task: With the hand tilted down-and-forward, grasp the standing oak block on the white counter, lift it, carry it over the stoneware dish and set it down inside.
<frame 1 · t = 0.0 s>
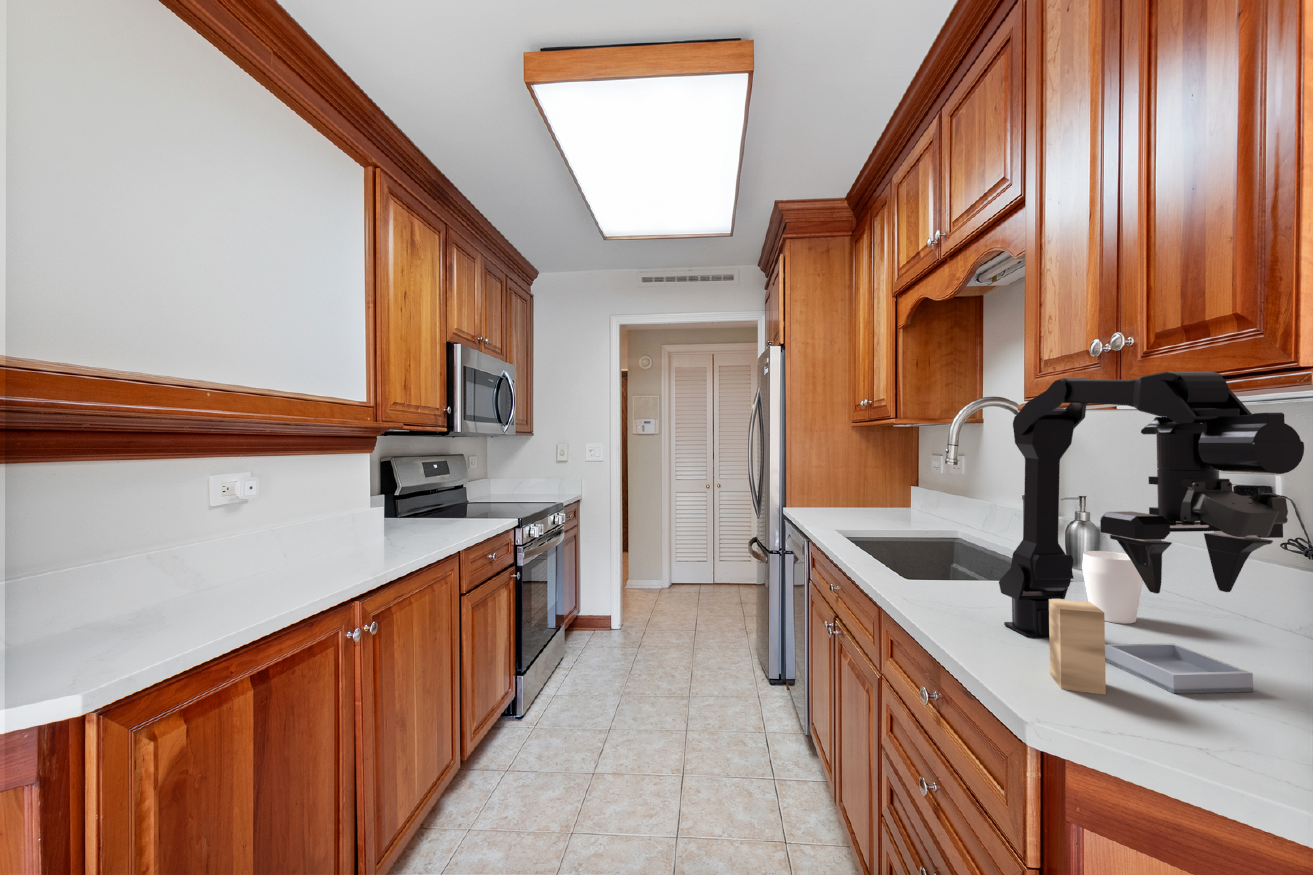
hand: (1189, 592, 70), 15 cm above the worktop, tool pointing down, fingers open, 9 cm apart
dish: (1173, 675, 79), on the worktop
oak block: (1076, 684, 77), on the worktop
cup: (1112, 619, 105), on the worktop
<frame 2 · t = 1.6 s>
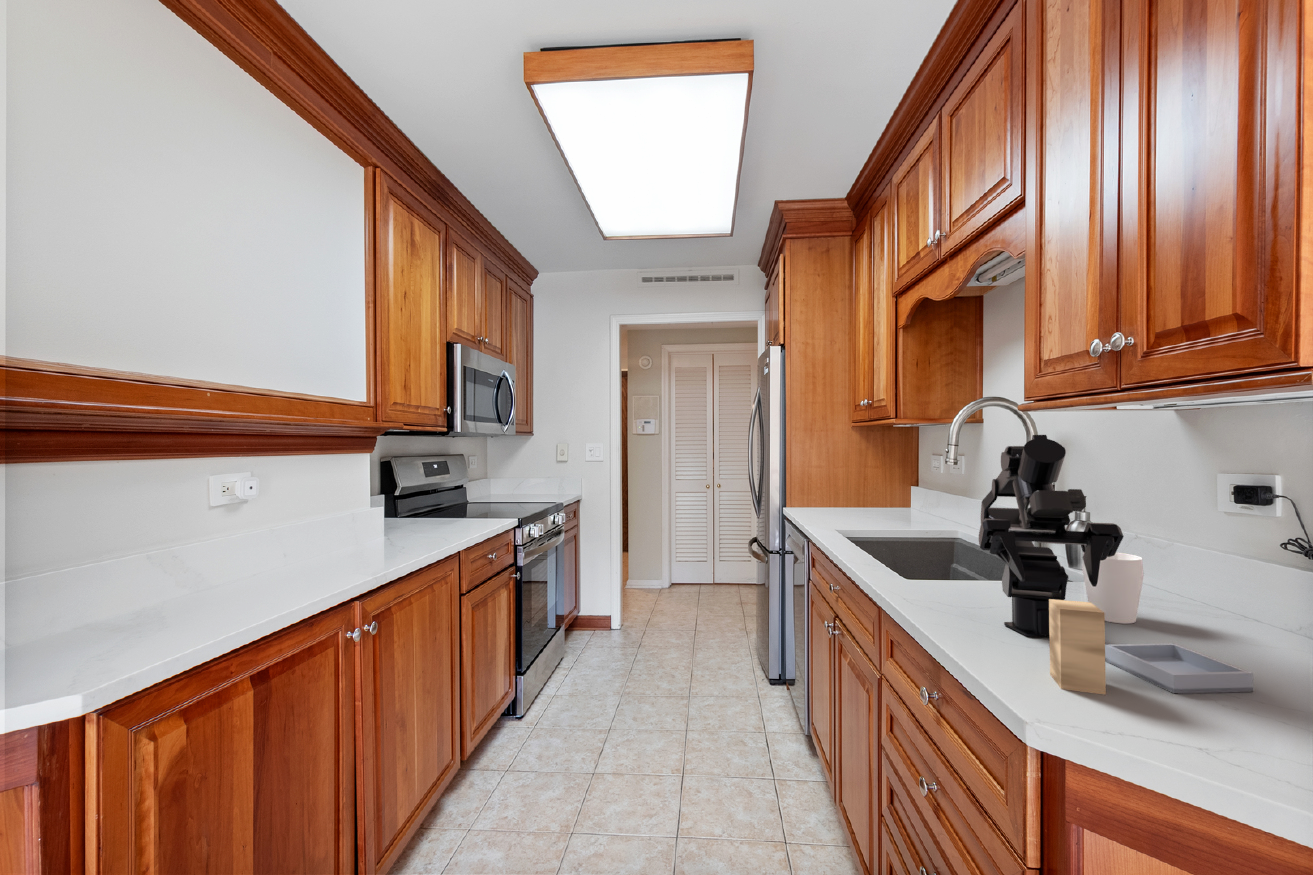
hand: (1058, 582, 84), 12 cm above the worktop, tool tilted 45°, fingers open, 9 cm apart
nothing on the worktop moved.
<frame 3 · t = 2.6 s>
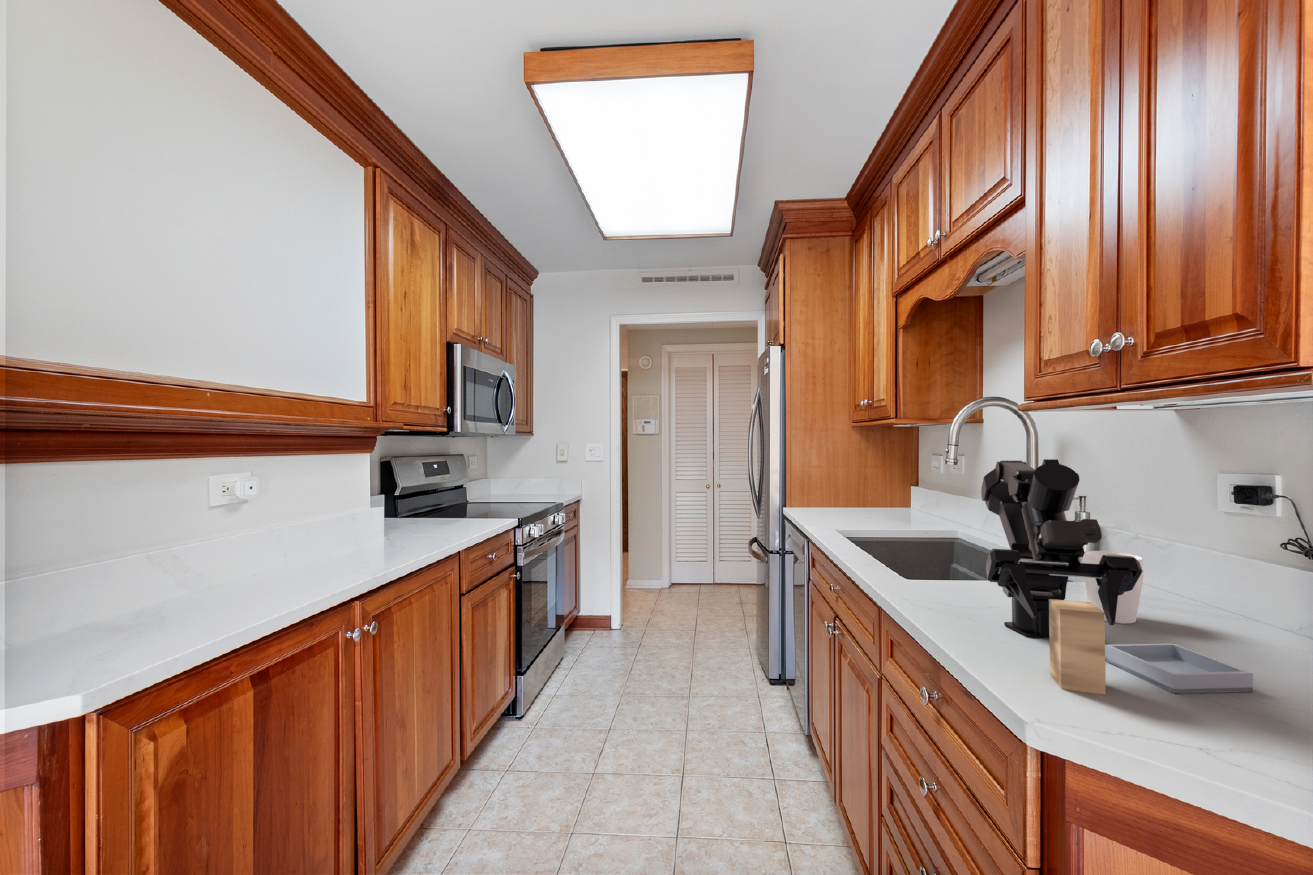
hand: (1072, 620, 78), 8 cm above the worktop, tool tilted 45°, fingers open, 9 cm apart
nothing on the worktop moved.
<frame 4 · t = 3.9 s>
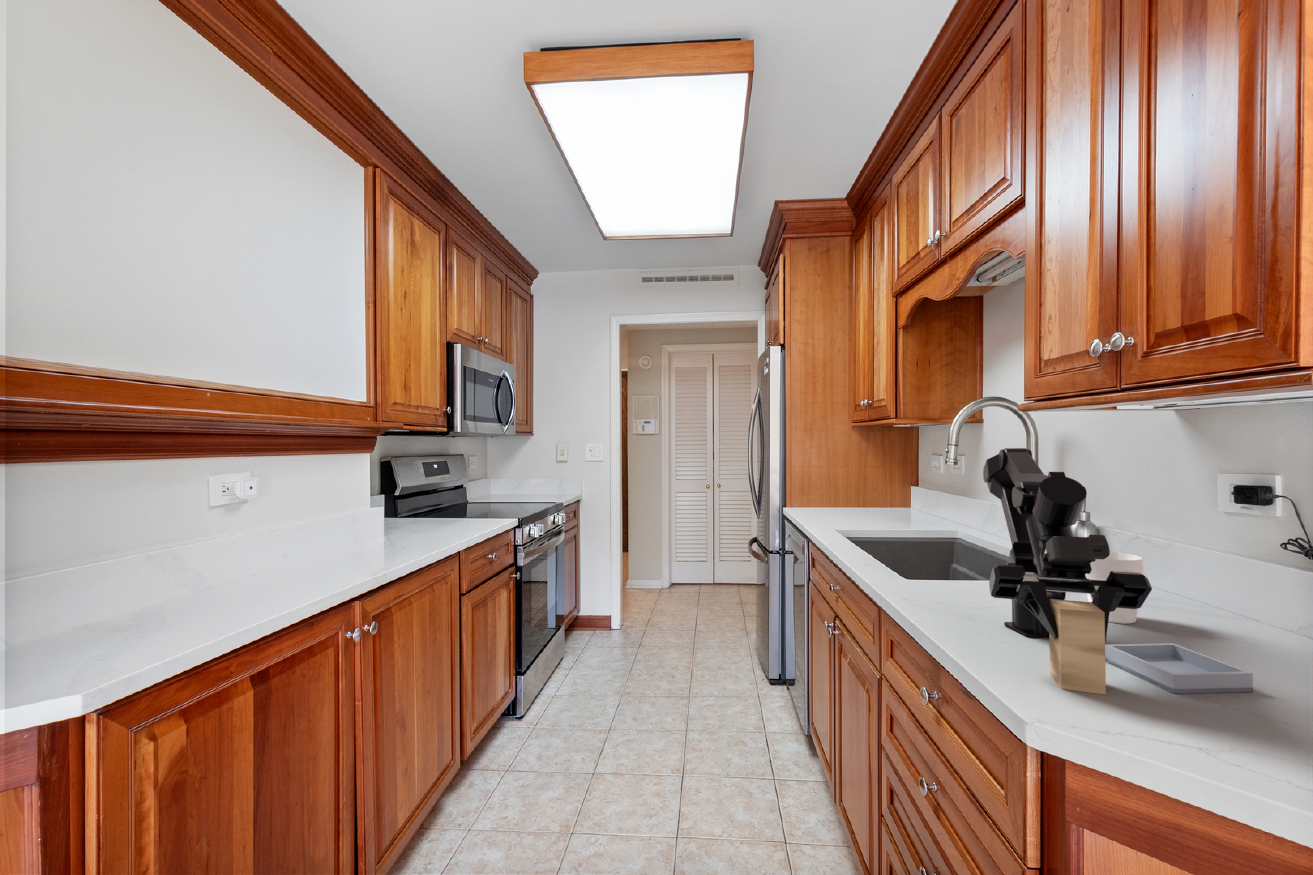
hand: (1079, 639, 76), 7 cm above the worktop, tool tilted 45°, fingers closed on oak block, 5 cm apart
oak block: (1076, 683, 77), on the worktop, touching gripper
everything else where it was.
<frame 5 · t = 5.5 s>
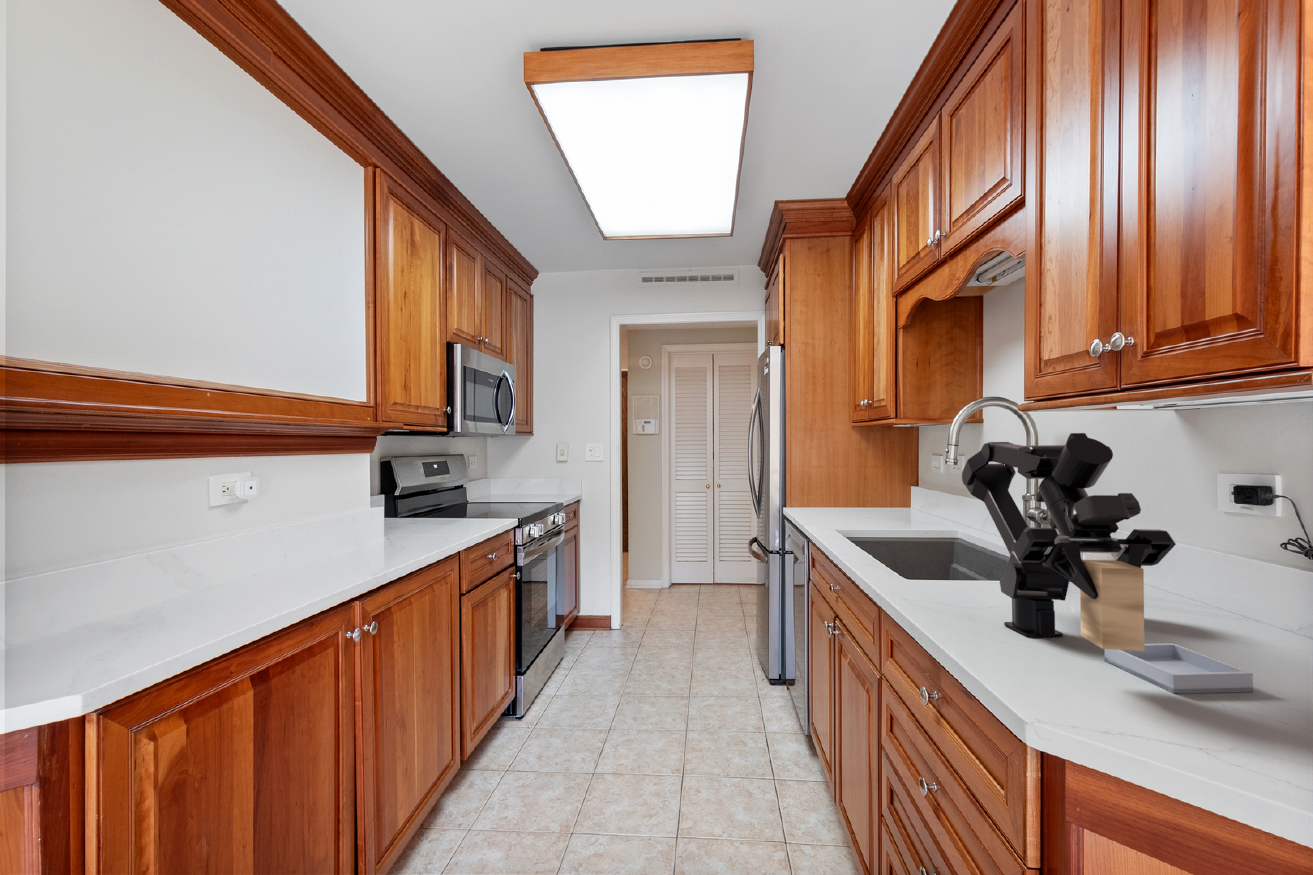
hand: (1117, 598, 75), 12 cm above the worktop, tool tilted 45°, fingers closed on oak block, 5 cm apart
oak block: (1111, 642, 76), point 6 cm above the worktop, touching gripper
everything else where it was.
when the fingers open (9 cm above the worktop, at t = 7.3 s): oak block drops 2 cm, resting on dish.
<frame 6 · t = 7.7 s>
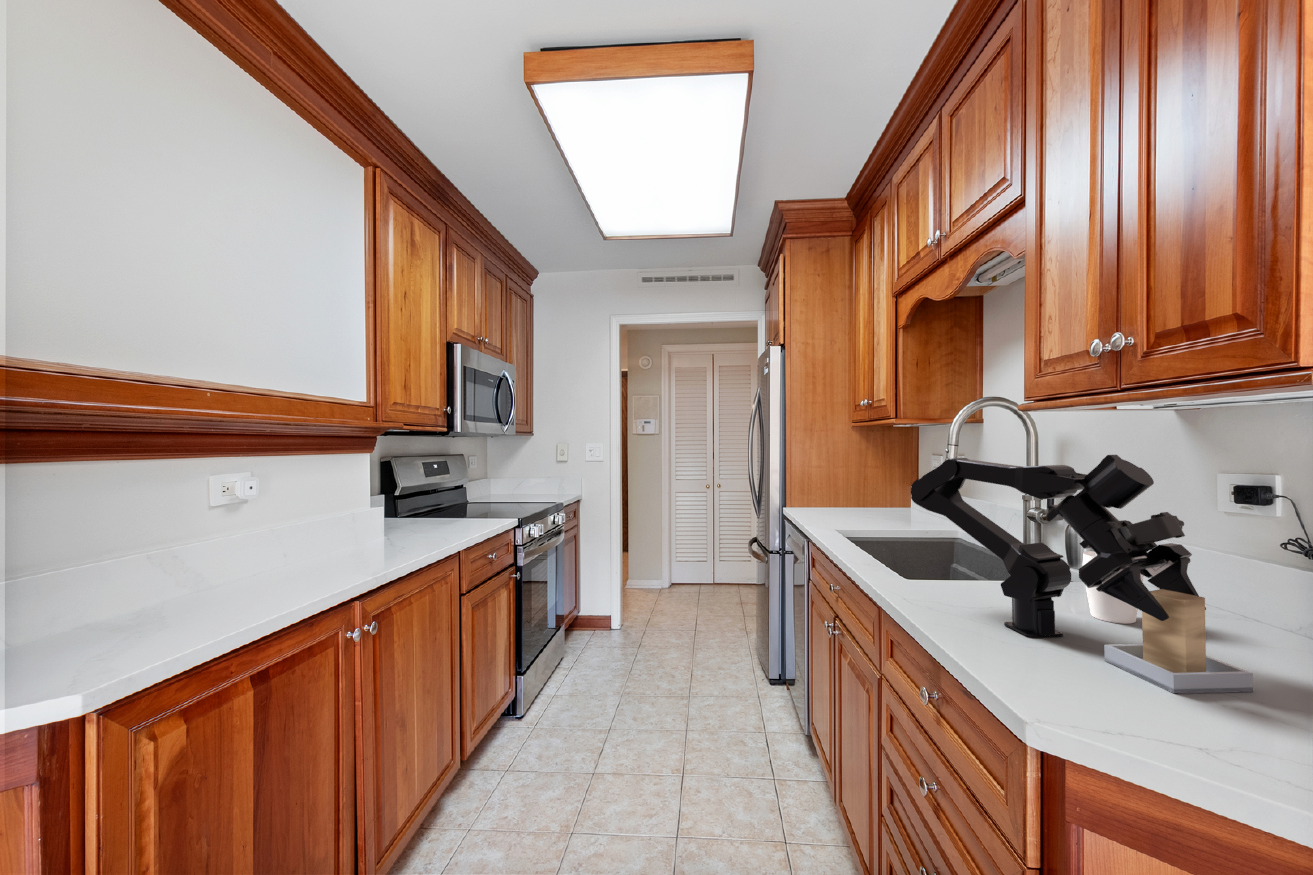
hand: (1184, 615, 78), 9 cm above the worktop, tool tilted 45°, fingers open, 9 cm apart
oak block: (1174, 671, 79), point 1 cm above the worktop, touching dish
everything else where it was.
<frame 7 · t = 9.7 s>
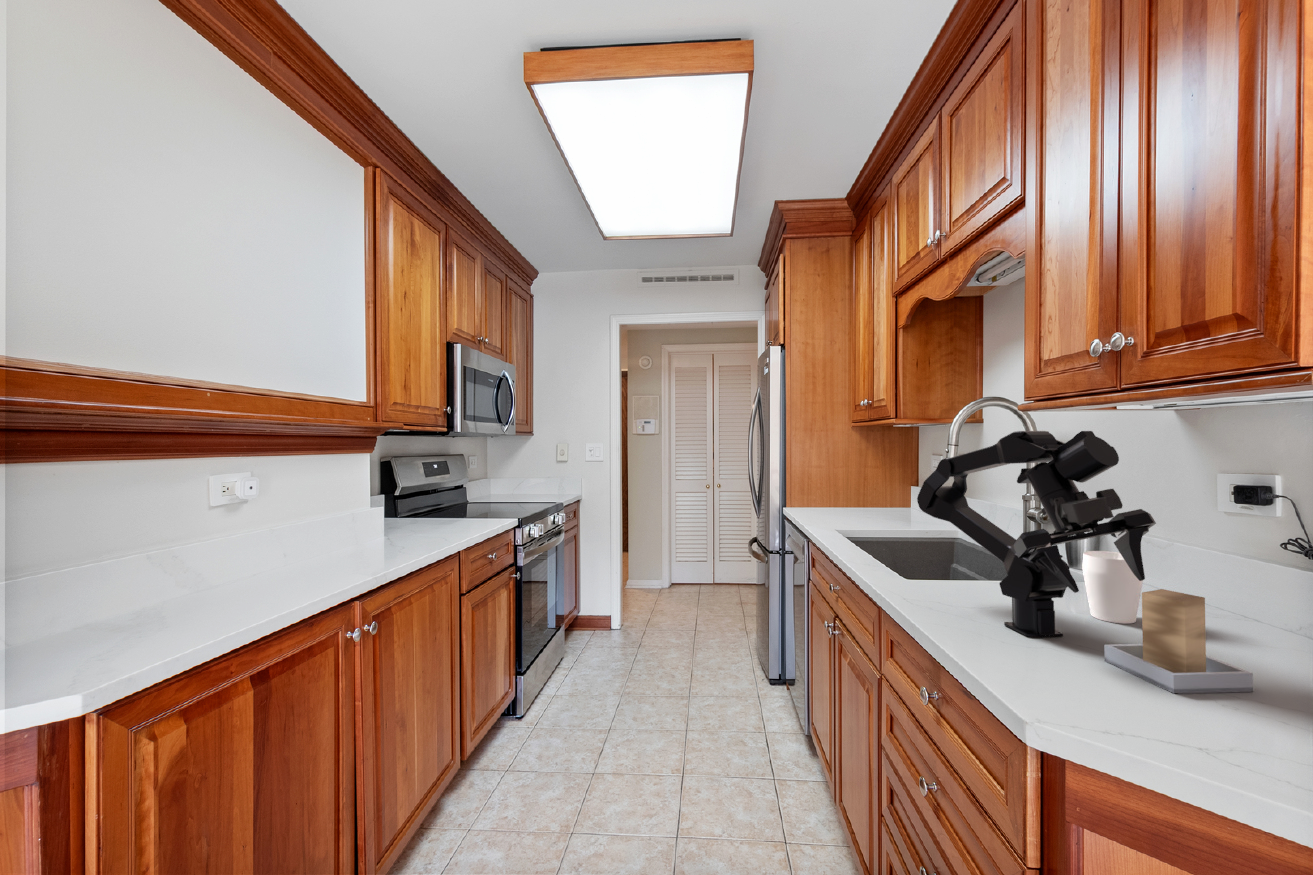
hand: (1109, 586, 85), 11 cm above the worktop, tool tilted 30°, fingers open, 9 cm apart
nothing on the worktop moved.
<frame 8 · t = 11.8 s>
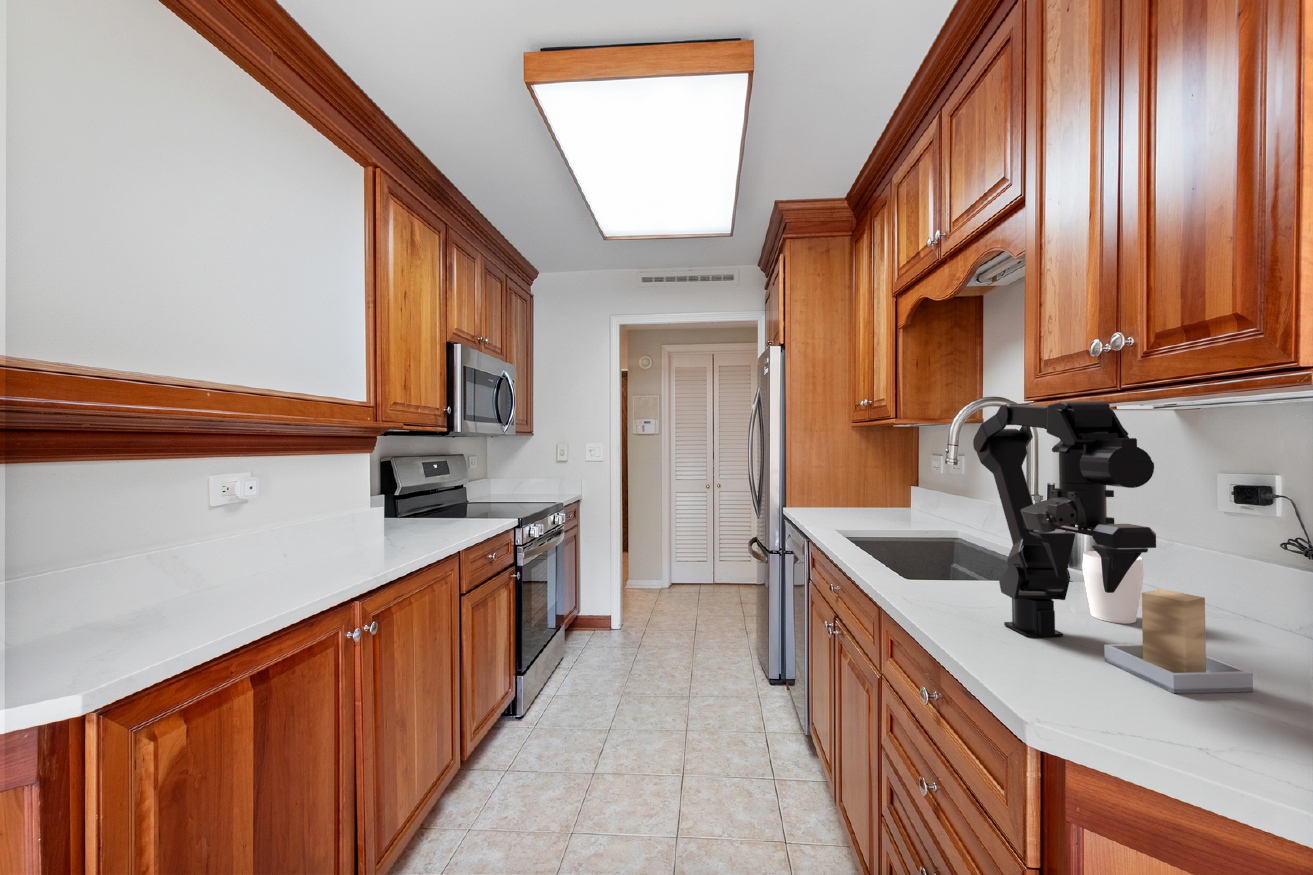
hand: (1083, 584, 84), 12 cm above the worktop, tool pointing down, fingers open, 9 cm apart
nothing on the worktop moved.
at the end: oak block inside the target area on the dish (0.0 cm from its centre), point 0.6 cm above the dish's base; oak block tilted 0°; the gripper is holding nothing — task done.
